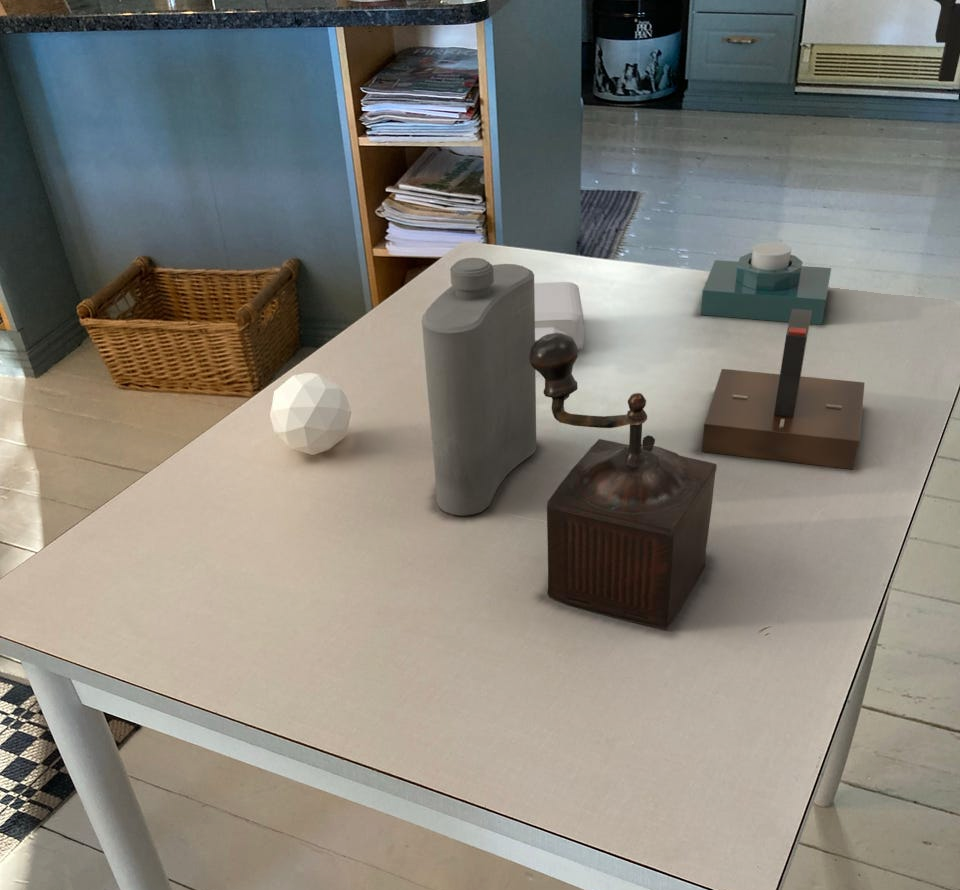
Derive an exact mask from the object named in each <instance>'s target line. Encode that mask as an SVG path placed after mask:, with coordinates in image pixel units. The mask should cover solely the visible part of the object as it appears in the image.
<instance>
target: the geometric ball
mask: <svg viewBox="0 0 960 890" xmlns="http://www.w3.org/2000/svg"><path fill="white" fill-rule="evenodd" d="M347 396H348V395H346V393H345V392H344V391H343V389H342V388H341V387H340V386H339V385H338V384H337V383H335V382H334V380H333V379H332V378H329V377H327V376H324V375H321V374H319V373H314V372H303V373H299V374H293V375H292V376H290V377H289V378H288V379H287V380H286V381H285V382H283V383H282V384H281V385H280V386H278V387H277V388H276V389H275V390H274V391H273V397H272V402H271V408H270V413H269V417H270V421H271V424H272V425H271V426H272V429H273V432H274V433H275V434H276V436H277V437H278V438H279V439H280V440H281V441H282V442H283V443H284V444H285V445H286V446H287V447H288V448H289V449H290V450H294V451H297V452H300V453H304V454H308V455H311V456H315V455H318V454H321V453H324V452H325V453H326V452H328V451H329V450H330V449H332V448H333V447H334V446H336V445H337V444H338V443H339V442H341V441H342V440H343V439H345V438H346V437H347V433H348V430H349V425H350V421H351V415H352V410H351V409H352V408H351V406H350V403H349V400H348V397H347Z"/></svg>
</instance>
